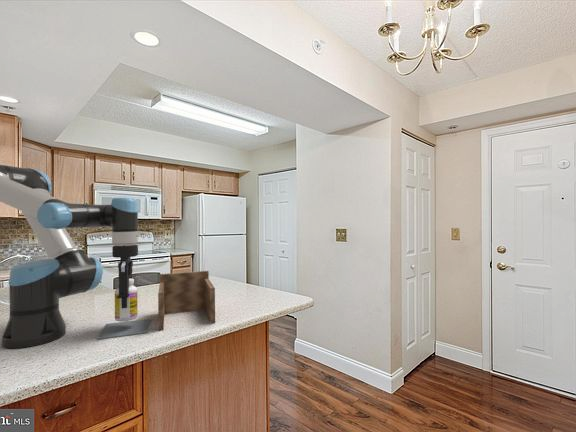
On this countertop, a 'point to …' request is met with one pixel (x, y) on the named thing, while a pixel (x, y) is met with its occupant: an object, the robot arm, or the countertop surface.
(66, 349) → the countertop surface
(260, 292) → the countertop surface
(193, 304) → the cubby
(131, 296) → the supplement bottle
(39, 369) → the countertop surface
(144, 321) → the slate mat
